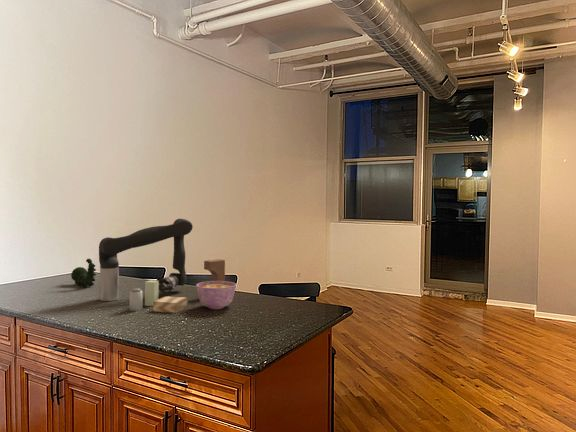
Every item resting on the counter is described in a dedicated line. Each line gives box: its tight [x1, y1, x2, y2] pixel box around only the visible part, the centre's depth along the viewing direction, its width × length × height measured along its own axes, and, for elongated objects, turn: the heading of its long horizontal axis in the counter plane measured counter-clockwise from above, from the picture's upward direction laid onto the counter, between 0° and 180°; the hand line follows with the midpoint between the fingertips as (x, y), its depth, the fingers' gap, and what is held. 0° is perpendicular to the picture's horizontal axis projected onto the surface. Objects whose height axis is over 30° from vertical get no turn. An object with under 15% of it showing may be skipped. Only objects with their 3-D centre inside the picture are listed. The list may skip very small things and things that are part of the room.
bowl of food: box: [195, 280, 237, 310], centre depth 216 cm, size 20×20×12 cm
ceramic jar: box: [129, 287, 144, 312], centre depth 210 cm, size 6×6×10 cm
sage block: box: [144, 279, 160, 307], centre depth 220 cm, size 5×5×12 cm
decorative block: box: [203, 258, 226, 281], centre depth 244 cm, size 11×6×20 cm, turn 136°
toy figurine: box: [71, 258, 97, 288], centre depth 267 cm, size 9×19×25 cm
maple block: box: [152, 296, 188, 314], centre depth 212 cm, size 12×12×5 cm
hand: (154, 289), depth 223 cm, fingers open, 8 cm apart
